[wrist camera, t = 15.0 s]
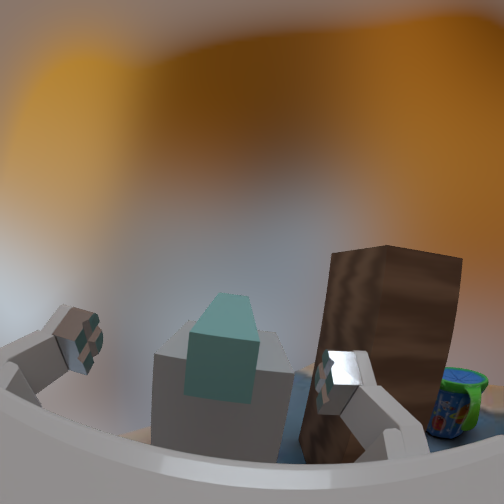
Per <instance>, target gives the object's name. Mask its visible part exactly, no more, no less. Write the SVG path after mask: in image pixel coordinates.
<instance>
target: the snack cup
mask: <svg viewBox="0 0 504 504" xmlns="http://www.w3.org/2000/svg"><path fill="white" fill-rule="evenodd" d="M487 386H488V378H487V377H486V376H485V375H483V374H481V373H478V372H475V371H472V370H468V369H462V368H453V367H445V370H444V374H443V378H442V381H441V385H440V389H439V392H438V395H437V399H436V402H435V405H434V408H433V412H432V415H431V418H430V420H429V423H428V426H427V429H426V431H428V432H429V433H430V434H431V435H432V436H433V435H434V436H437V437H441V438H450V439H451V438H454V437H457V436H459V435H460V434H462V433H463V431H469V430H471V429H473V428H474V427H475V426H476V424H477V421H478V417H479V410H480V404H481V394H482V393H483V391H484V390H485V389H486V387H487Z"/></svg>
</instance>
